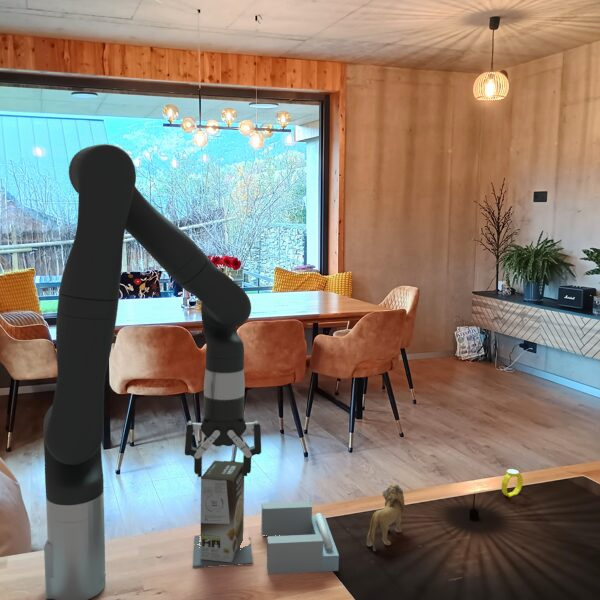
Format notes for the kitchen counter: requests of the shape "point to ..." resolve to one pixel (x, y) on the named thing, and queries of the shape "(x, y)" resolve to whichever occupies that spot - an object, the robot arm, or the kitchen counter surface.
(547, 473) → the kitchen counter surface
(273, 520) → the vise
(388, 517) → the lion figurine
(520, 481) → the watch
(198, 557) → the mat
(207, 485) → the coffee box
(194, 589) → the kitchen counter surface
